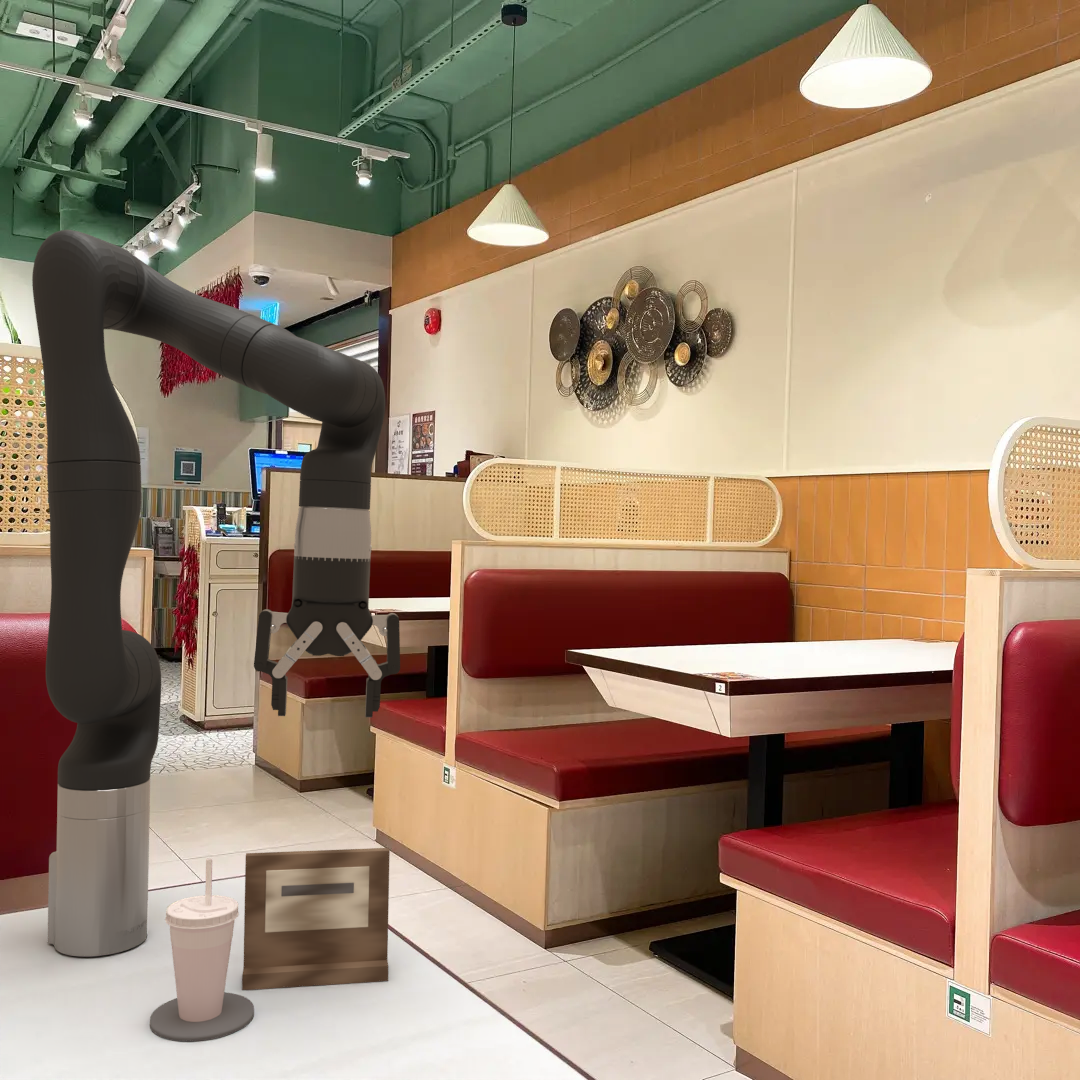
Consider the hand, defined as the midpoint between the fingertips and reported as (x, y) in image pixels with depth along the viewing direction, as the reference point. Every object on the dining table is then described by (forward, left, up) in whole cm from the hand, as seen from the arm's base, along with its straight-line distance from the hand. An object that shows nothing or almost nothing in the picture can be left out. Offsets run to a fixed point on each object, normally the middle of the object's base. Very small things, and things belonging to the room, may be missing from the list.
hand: (325, 715), depth 107 cm
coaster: (-4, -12, -26) cm, 29 cm away
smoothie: (-4, -13, -26) cm, 29 cm away
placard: (0, 0, -26) cm, 26 cm away
